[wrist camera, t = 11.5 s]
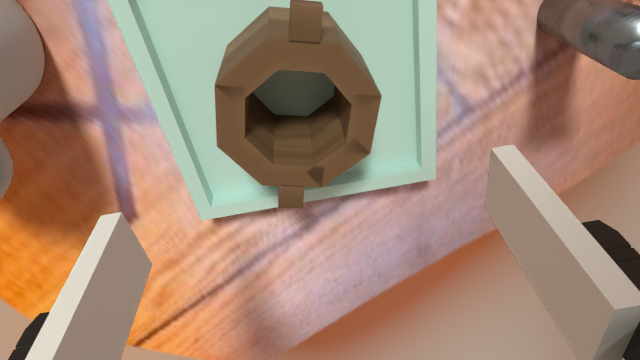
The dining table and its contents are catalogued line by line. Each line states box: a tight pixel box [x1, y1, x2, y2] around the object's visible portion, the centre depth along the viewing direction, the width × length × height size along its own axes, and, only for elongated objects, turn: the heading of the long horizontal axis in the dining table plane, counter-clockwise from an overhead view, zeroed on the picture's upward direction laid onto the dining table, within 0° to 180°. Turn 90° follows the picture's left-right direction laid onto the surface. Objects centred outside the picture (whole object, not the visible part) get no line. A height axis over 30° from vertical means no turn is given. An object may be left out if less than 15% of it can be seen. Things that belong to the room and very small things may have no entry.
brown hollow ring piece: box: [214, 0, 382, 208], centre depth 23 cm, size 11×8×6 cm
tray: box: [107, 0, 437, 220], centre depth 26 cm, size 17×17×2 cm
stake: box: [538, 0, 640, 80], centre depth 22 cm, size 3×4×8 cm
